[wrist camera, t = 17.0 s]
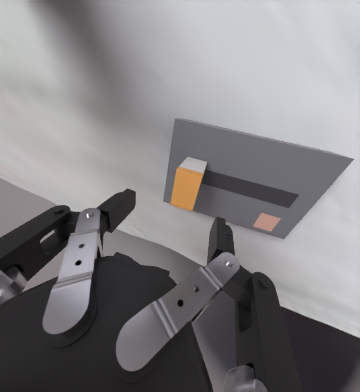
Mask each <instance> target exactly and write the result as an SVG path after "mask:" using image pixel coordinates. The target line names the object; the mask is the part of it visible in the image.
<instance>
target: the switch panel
mask: <svg viewBox="0 0 360 392" xmlns="http://www.w3.org/2000/svg"><path fill="white" fill-rule="evenodd" d="M187 157H191V158H195V159H198V160H202V161H206V162H207V165H206V168H205V171H204V175H203V178H202V181H201V185H200V188H199V191H198V195H197V198H196V201H195V204H194V207H193V210H192V211H196V212H199V213H202V214H205V215H208V216H212V217H215V218H216V217H221V218H224V219H225V221H228V222H231V223H234V224H237V225H240V226H243V227H247V228H250V229H253V230H256V231H259V232H263V233H266V234H269V235H272V236H275V237H279V238H282V239H284V238H285V237H286V236H287V235H288V234H289V233H290V231H291V230H292V229H293V228H294V227H295V226H296V225H297V223H298V222H299V221H300V220H301V219H302V218H303V217H304V216H305V214H306V213H307V212H308V211H309V210H310V209H311V208H312V206H313V205H314V204H315V203H316V202H317V201H318V200H319V198H320V197H321V196H322V195H323V194H324V193H325V192H326V190H327V189H328V188H329V187H330V186H331V185H332V184H333V183H334V181H335V180H336V179H337V178H338V177H339V176H340V175H341V173H342V172H343V171H344V170H345V169H346V168H347V167H348V165H349V164H350V163H351V162H352V161H353V160H354V159H352V158H348V157H345V156H342V155H338V154H335V153H332V152H328V151H323V150H319V149H315V148H310V147H306V146H301V145H297V144H292V143H288V142H284V141H279V140H275V139H270V138H266V137H261V136H257V135H253V134H248V133H244V132H239V131H235V130H230V129H226V128H222V127H217V126H213V125H208V124H204V123H199V122H195V121H191V120H186V119H175V124H174V130H173V137H172V144H171V151H170V158H169V165H168V172H167V179H166V186H165V193H164V200H163V201H164V202H167V203H171V197H172V192H173V186H174V181H175V175H176V170H177V168H178V167H179V166H180V165H181V164H182V163H183V161H184V160H185V159H186V158H187Z"/></svg>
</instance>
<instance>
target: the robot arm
mask: <svg viewBox="0 0 360 392" xmlns="http://www.w3.org/2000/svg"><path fill="white" fill-rule="evenodd" d="M135 204H136V192H135V191H133V190H130V189H126V190H125V191H123V192H119V193H117V194H115V195H113V196H112V197H110V198H109V199H108V200H106V201H105V202H104V203H102V204H101V205H100V206H98V207H97V208H88V209H85V210H83V211H82V212H72V211H71V210H70V208H69V207H68V206H65V205H60V206H55V207H52V208H50V209H49V210H47V211H45V212H43V213H42V214H40V215H38V216H37V217H35V218H33V219H31V220H30V221H28V222H26V223H25V224H23V225H21V226H19V227H18V228H16V229H14V230H13V231H11V232H9V233H7V234H6V235H4V236H3V237H1V238H0V392H213V388H212V384H211V381H210V378H209V375H208V372H207V369H206V366H205V363H204V360H203V357H202V354H201V351H200V348H199V345H198V342H197V339H196V336H195V333H194V330H193V327H192V323H193V322H194V321H195V320H196V319H197V318H198V317H199V316H200V315H201V314H202V312H203V311H204V310H205V309H206V308H207V307H208V305H209V304H210V303H211V302H212V301H213V300H214V299H215V298H216V297H217V296H218V295H219V294H220V292H221V291H222V290H223V291H224V292H225V293H227V294H228V295H229V296H231V297H232V298H233V299H235V328H236V365H237V367H236V368H233V369H231V370H230V371H229V372H228V373H227V375H226V378H225V385H224V390H223V392H303V389H302V385H301V382H300V378H299V374H298V371H297V367H296V363H295V359H294V356H293V352H292V348H291V344H290V341H289V337H288V333H287V330H286V326H285V322H284V319H283V315H282V311H281V307H280V304H279V300H278V296H277V292H276V289H275V286H274V284H273V282H272V281H271V280H270V279H269V278H268V277H267V276H266V275H265V274H263V273H260V272H255V273H253V274H252V273H250V272H249V271H247V270H246V269H244V268H243V267H242V266H241V265H240V263H239V261H238V259H237V258H236V257H235V251H234V242H233V233H232V230H231V228H230V226H228V225H226V224H225V219H224V218H221V217H216V218H215V221H214V223H213V225H212V228H211V230H210V236H209V247H208V258H207V265H206V266H205V267H203V266H202V267H200V268H199V269H197V270H196V271H195V272H193V273H192V274H191V275H190V276H188V277H187V278H186V279H184V280H183V281H182V282H181V283H179V284H178V285H177V284H176V283H175V281H174V280H173V279H172V278H171V277H169V271H167V270H164V269H161V268H159V267H154V266H144V265H140V264H138V263H137V262H136V261H134V260H133V259H132V258H130V257H129V256H126V255H123V254H121V253H118V252H116V254H115V255H114V256H105V257H104V233H105V232H106V231H108V232H110V233H112V232H113V231H114V230H115V229H116V227H117V226H118V225H119V224H120V223H121V222H122V221H123V220H124V219H125V218H126V217H127V216H128V215H129V214H130V213H131V211H132V210H133V209H134V207H135ZM52 230H54V232H55V233H53V234H52V235H51V236H49V237H48V238H47V239H45V240H44V241H43V242H41V243H40V240H41V239H42V238H43V237H44V236H45V235H47V234H48V233H49V232H51V231H52ZM66 246H67V248H66V252H65V255H64V259H63V262H62V266H61V269H60V273H59V276H58V277H55V278H53V279H51V280H49V281H46V282H44V283H42V284H40V285H38V286H35V287H34V288H31V289H29V290H27V291H24V292H23V289H24V288H25V286H26V284H27V281H29V280H30V279H31V278H32V277H33V276H34V275H35V274H36V273H37V272H38V271H39V270H40V269H42V268H43V267H44V266H45V265H46V264H47V263H48V262H49V261H51V260H52V259H53V258H54V257H55V256H56V255H57V254H58V253H59V252H60V251H62V250H63V249H64V248H65V247H66Z"/></svg>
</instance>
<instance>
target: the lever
mask: <svg viewBox="0 0 360 392" xmlns="http://www.w3.org/2000/svg"><path fill="white" fill-rule="evenodd" d="M206 165H207V162H206V161H202V160H198V159H195V158H191V157H187V158H186V159H185V160H184V161H183V163H182V164H181V165H180V166H179V167H178V168H177V170H176V175H175V181H174V186H173V192H172V197H171V203H170V205H173V206H176V207H179V208H183V209H186V210H189V211H192V210H193V207H194V204H195V201H196V198H197V195H198V191H199V188H200V185H201V181H202V178H203V175H204V171H205V168H206Z"/></svg>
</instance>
